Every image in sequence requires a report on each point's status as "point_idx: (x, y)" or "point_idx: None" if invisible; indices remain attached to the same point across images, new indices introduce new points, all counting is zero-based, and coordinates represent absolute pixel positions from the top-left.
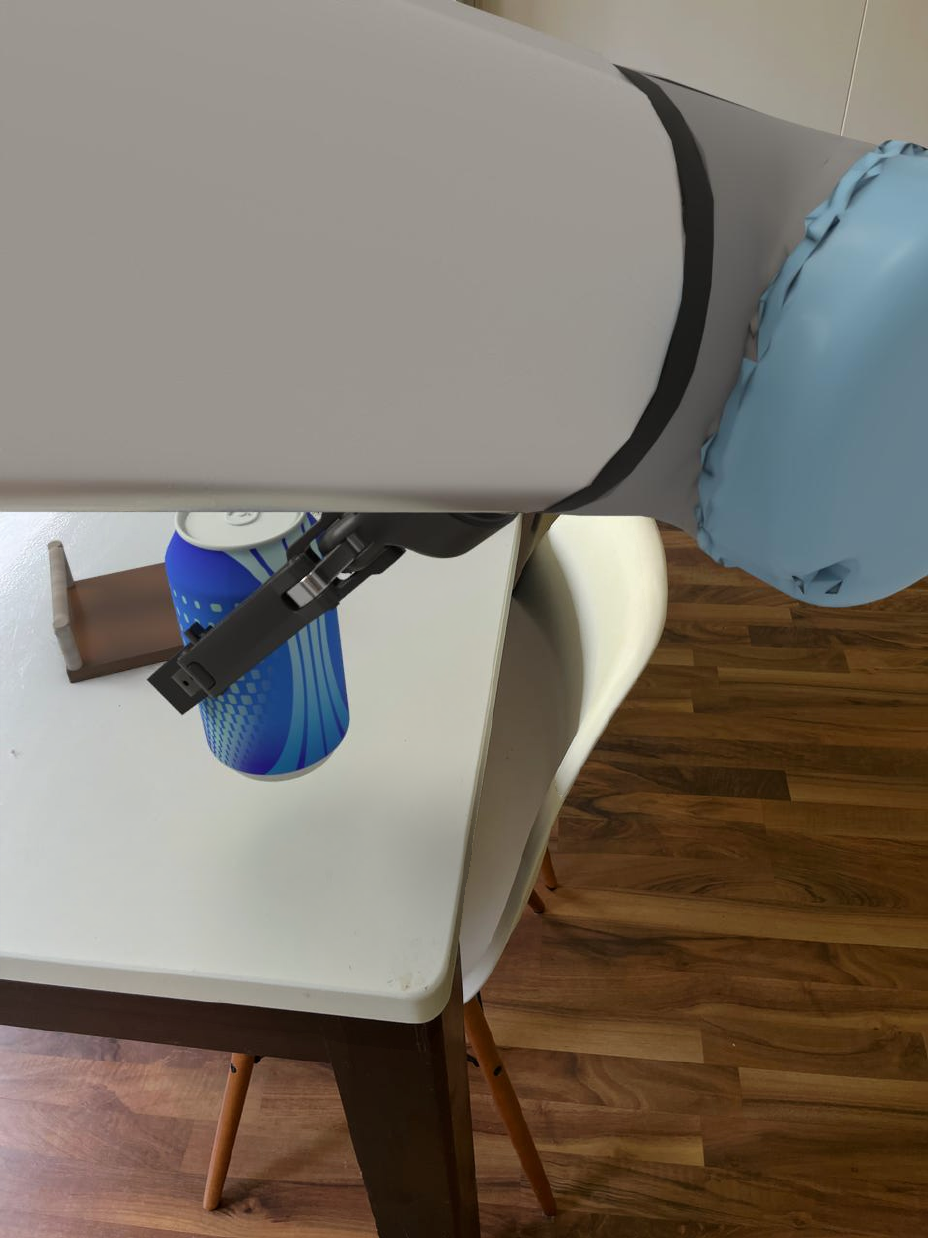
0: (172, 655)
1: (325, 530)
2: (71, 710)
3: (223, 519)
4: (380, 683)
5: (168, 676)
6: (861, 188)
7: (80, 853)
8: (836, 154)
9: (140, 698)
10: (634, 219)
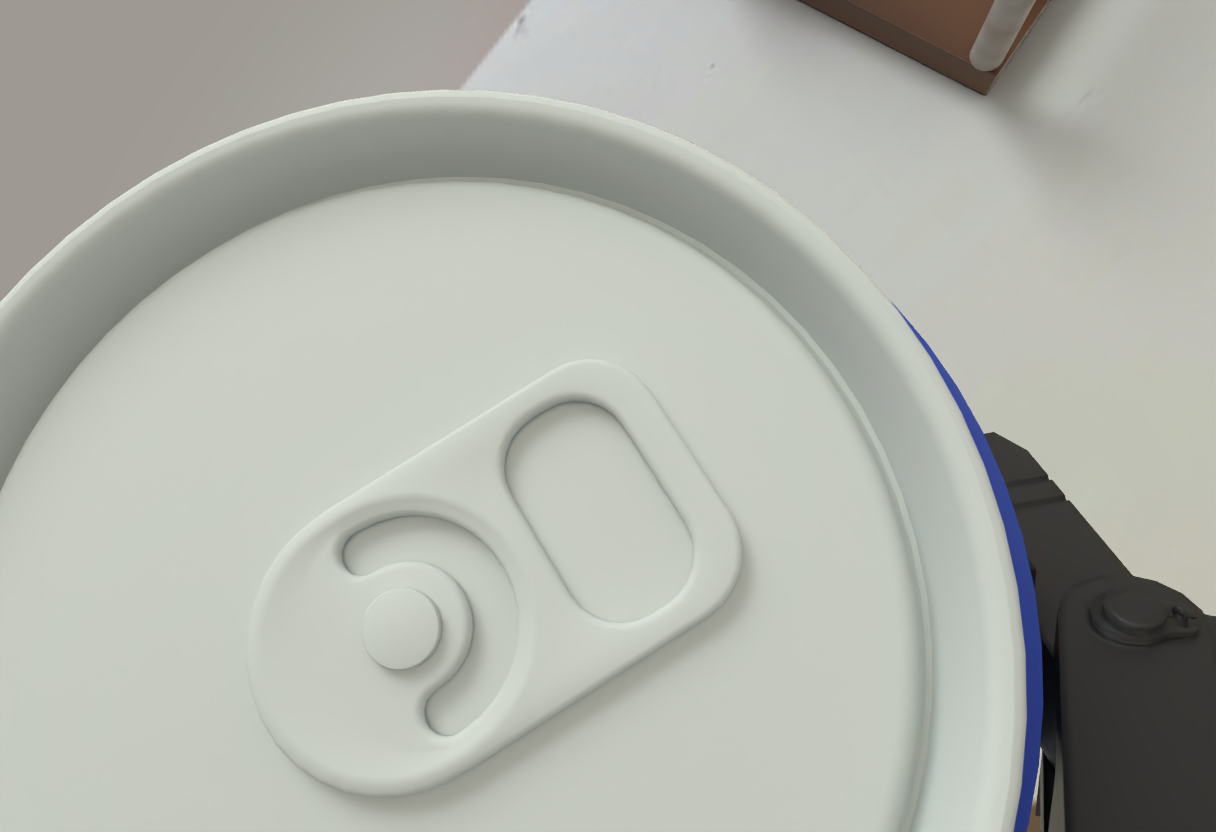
0: (875, 32)
1: (1059, 799)
2: (650, 9)
3: (294, 532)
4: (1115, 444)
5: None
6: None
7: None
8: None
9: (750, 79)
10: None
